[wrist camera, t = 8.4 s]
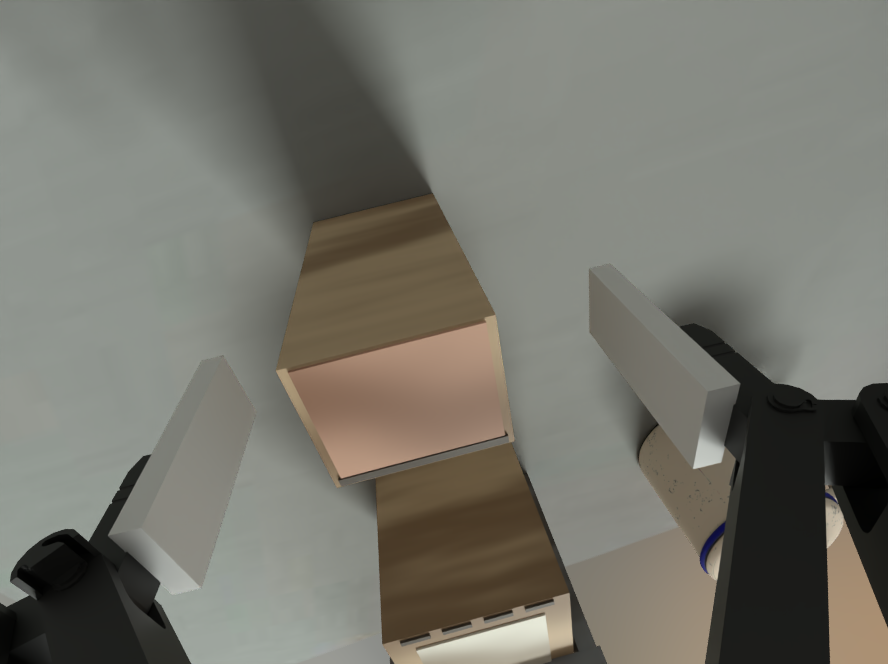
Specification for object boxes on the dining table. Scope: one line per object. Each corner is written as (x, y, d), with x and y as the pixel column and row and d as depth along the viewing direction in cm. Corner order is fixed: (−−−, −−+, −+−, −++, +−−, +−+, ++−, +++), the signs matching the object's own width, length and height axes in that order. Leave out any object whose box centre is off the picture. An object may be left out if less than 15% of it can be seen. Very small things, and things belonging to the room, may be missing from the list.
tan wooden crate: (353, 455, 31) (350, 678, 20) (521, 410, 31) (610, 606, 20) (396, 549, 37) (412, 756, 26) (535, 512, 38) (607, 700, 27)
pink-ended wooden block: (313, 222, 22) (275, 373, 12) (432, 193, 22) (496, 316, 12) (345, 308, 24) (336, 491, 14) (451, 282, 25) (515, 443, 15)
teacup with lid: (629, 490, 38) (723, 641, 28) (637, 414, 33) (754, 566, 23) (762, 456, 39) (897, 594, 29) (789, 376, 34) (965, 510, 24)
